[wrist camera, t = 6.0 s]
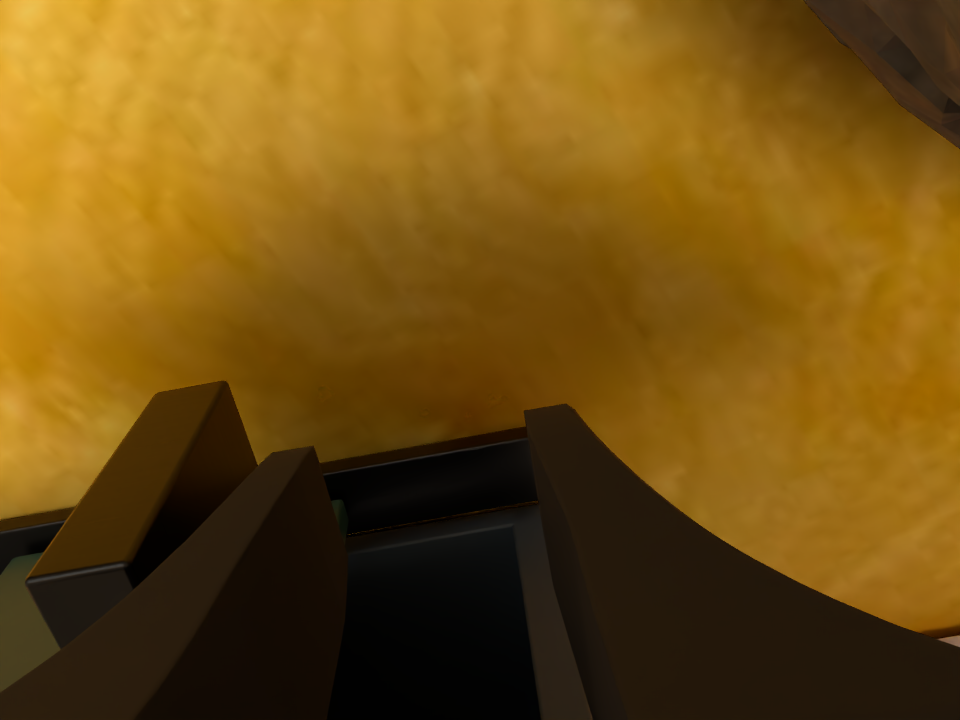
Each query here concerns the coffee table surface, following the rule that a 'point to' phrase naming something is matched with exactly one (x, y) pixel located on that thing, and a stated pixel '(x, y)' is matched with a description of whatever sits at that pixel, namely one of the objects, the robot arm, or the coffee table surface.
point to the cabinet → (433, 587)
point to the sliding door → (127, 522)
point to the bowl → (906, 52)
